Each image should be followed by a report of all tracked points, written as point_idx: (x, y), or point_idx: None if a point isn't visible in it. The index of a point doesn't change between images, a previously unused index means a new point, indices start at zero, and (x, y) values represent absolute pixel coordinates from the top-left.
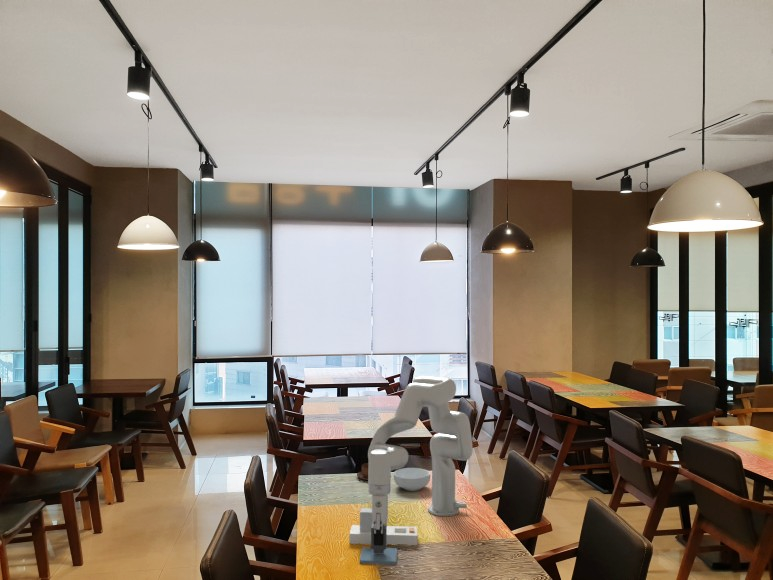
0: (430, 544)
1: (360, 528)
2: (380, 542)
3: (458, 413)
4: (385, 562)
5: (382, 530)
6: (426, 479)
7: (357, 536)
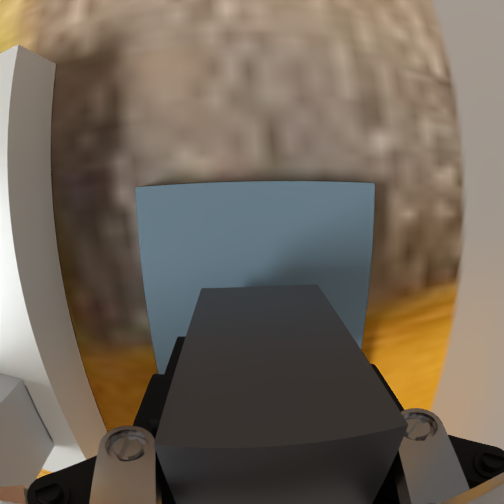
0: (49, 2)
1: (45, 456)
2: (376, 368)
3: None
4: (367, 260)
5: (449, 442)
6: None
7: (90, 449)
